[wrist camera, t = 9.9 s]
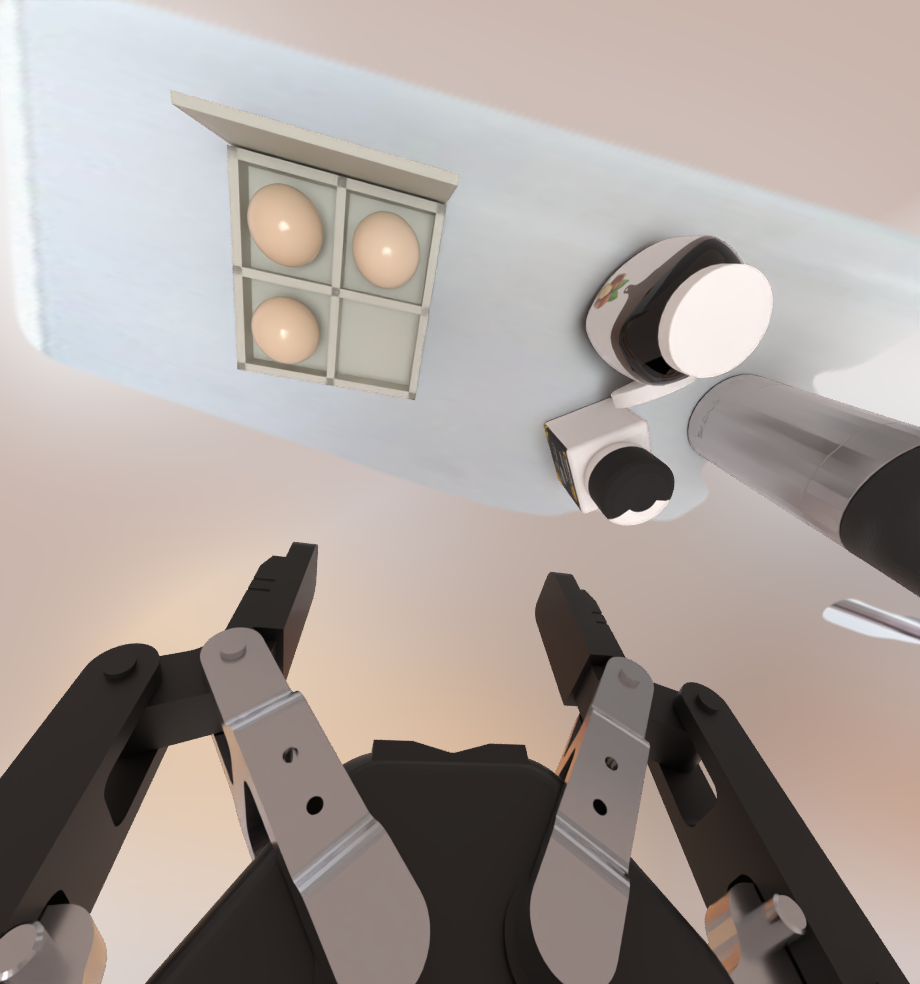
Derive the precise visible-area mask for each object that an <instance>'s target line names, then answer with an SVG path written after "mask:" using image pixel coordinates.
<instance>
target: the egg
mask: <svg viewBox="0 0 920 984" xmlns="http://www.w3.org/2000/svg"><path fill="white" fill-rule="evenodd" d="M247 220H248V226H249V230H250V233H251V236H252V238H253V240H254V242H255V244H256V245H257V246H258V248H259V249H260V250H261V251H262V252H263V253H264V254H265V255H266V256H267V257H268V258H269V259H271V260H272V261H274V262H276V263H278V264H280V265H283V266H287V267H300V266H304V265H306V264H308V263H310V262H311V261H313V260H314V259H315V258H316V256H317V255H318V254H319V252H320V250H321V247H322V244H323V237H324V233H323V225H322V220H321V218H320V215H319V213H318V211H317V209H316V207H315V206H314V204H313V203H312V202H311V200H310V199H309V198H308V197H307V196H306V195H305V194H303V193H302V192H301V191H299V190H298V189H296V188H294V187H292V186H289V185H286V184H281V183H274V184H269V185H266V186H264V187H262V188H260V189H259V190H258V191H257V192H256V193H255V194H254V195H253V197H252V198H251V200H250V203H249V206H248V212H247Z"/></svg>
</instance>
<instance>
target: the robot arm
mask: <svg viewBox="0 0 920 984" xmlns="http://www.w3.org/2000/svg"><path fill="white" fill-rule="evenodd" d="M688 438H689V441H690V444H691V446H692V448H693V449H694V451H696V452H697V453H698V454H699V455H701V456H702V457H704V458H705V459H707V460H708V461H710V462H711V463H713V464H715V465H716V466H718V467H719V468H721V469H722V470H724V471H725V472H727V473H728V474H730V475H731V476H733V477H735V478H736V479H738V480H739V481H741V482H742V483H744V484H745V485H747V486H748V487H750V488H751V489H753V490H755V491H756V492H758V493H759V494H761V495H762V496H764V497H766V498H767V499H769V500H770V501H772V502H773V503H775V504H777V505H778V506H780V507H781V508H783V509H784V510H786V511H787V512H789V513H790V514H792V515H793V516H795V517H797V518H798V519H800V520H801V521H803V522H804V523H806V524H808V525H809V526H811V527H812V528H814V529H816V530H817V531H819V532H820V533H822V534H823V535H825V536H826V537H828V538H830V539H831V540H833V541H834V542H836V543H837V544H839V545H840V546H842V547H844V548H845V549H847V550H848V551H849V552H851V553H852V554H854V555H855V556H857V557H859V558H860V559H862V560H863V561H865V562H867V563H868V564H870V565H871V566H873V567H874V568H876V569H878V570H879V571H881V572H882V573H884V574H885V575H887V576H888V577H890V578H891V579H893V580H895V581H896V582H897V583H899V584H901V585H902V586H903V587H905V588H907V589H908V590H910V591H911V592H913V593H914V594H916V595H917V596H919V597H920V427H918V426H914V425H911V424H907V423H904V422H901V421H898V420H895V419H891V418H888V417H885V416H882V415H879V414H875V413H873V412H870V411H866V410H863V409H860V408H857V407H853V406H851V405H847V404H844V403H841V402H838V401H835V400H832V399H829V398H825V397H822V396H819V395H816V394H813V393H810V392H806V391H803V390H800V389H797V388H794V387H791V386H788V385H785V384H782V383H779V382H775V381H772V380H769V379H766V378H763V377H760V376H756V375H751V374H748V375H738V376H734V377H731V378H729V379H727V380H724V381H722V382H721V383H719V384H718V385H716V386H715V387H713V388H712V389H711V390H710V391H709V392H708V393H707V394H706V395H705V396H704V397H703V398H702V399H701V401H700V402H699V403H698V405H697V406H696V408H695V410H694V411H693V414H692V417H691V419H690V423H689V428H688ZM317 557H318V545H316V544H309V543H308V544H307V543H299V542H293V543H292V545H291V547H290V549H289V552H288V554H287V556H286V557H281V556H272V557H271V558H269V559H268V560H267V561H266V562H264V563H263V564H262V565H261V566H260V567H259V569H258V571H257V573H256V575H255V576H254V579H253V580H252V582H251V584H250V586H249V588H248V590H247V591H246V593H245V595H244V596H243V598H242V600H241V602H240V604H239V606H238V607H237V609H236V611H235V613H234V615H233V617H232V618H231V620H230V622H229V624H228V626H227V628H226V629H225V630H224V631H222V632H220V633H218V634H216V635H214V636H213V637H212V638H210V639H209V640H208V641H207V642H206V643H205V645H204V646H203V647H200V648H198V649H195V650H191V651H186V652H180V653H175V654H169V655H163V656H159V654H158V652H157V651H156V649H155V648H153V647H152V646H149V645H146V644H138V643H136V644H135V643H134V644H126V645H122V646H118V647H115V648H112V649H110V650H108V651H106V652H104V653H102V654H100V655H99V656H97V657H96V658H94V659H93V660H92V661H91V662H90V663H89V664H88V665H87V666H86V667H85V668H84V669H83V671H82V672H81V673H80V675H79V676H78V677H77V679H76V680H75V681H74V683H73V684H72V685H71V687H70V688H69V689H68V691H67V692H66V693H65V694H64V696H63V697H62V698H61V700H60V701H59V702H58V704H57V705H56V706H55V708H54V709H53V710H52V712H51V713H50V714H49V715H48V717H47V718H46V720H45V721H44V722H43V723H42V725H41V726H40V727H39V728H38V730H37V731H36V733H35V734H34V735H33V736H32V738H31V739H30V740H29V742H28V743H27V744H26V745H25V747H24V748H23V749H22V751H21V752H20V753H19V755H18V756H17V757H16V759H15V760H14V761H13V762H12V764H11V765H10V767H9V768H8V769H7V770H6V772H5V773H4V774H3V776H2V777H1V778H0V984H101V982H102V978H103V975H104V971H105V967H106V961H107V950H106V945H105V942H104V940H103V938H102V936H101V934H100V932H99V931H98V929H97V927H96V925H95V923H94V921H93V919H92V917H91V916H90V913H91V911H92V908H93V906H94V904H95V902H96V900H97V898H98V896H99V894H100V891H101V889H102V887H103V885H104V883H105V881H106V879H107V876H108V874H109V872H110V870H111V868H112V866H113V864H114V861H115V859H116V857H117V855H118V853H119V851H120V849H121V846H122V844H123V842H124V840H125V838H126V835H127V833H128V831H129V829H130V827H131V825H132V823H133V821H134V818H135V816H136V814H137V812H138V810H139V808H140V806H141V803H142V801H143V799H144V797H145V795H146V792H147V790H148V788H149V786H150V784H151V782H152V779H153V778H154V775H155V773H156V771H157V769H158V767H159V765H160V763H161V760H162V758H163V756H164V754H165V752H166V750H167V748H168V746H170V745H174V744H178V743H181V742H185V741H189V740H192V739H196V738H200V737H204V736H208V735H211V736H212V739H213V742H214V744H215V747H216V750H217V753H218V756H219V759H220V762H221V764H222V767H223V770H224V773H225V775H226V778H227V781H228V784H229V787H230V790H231V792H232V795H233V799H234V803H235V807H236V812H237V816H238V820H239V823H240V826H241V829H242V833H243V836H244V838H245V841H246V844H247V847H248V850H249V853H250V856H251V858H252V862H251V864H250V865H249V866H248V867H247V868H246V869H245V870H244V871H243V872H242V874H241V875H240V876H239V877H238V878H237V879H236V880H235V882H234V883H233V884H232V885H231V886H230V887H229V888H228V890H227V891H226V892H225V893H224V894H223V895H222V896H221V898H220V899H219V900H218V901H217V902H216V903H215V904H214V906H213V907H212V908H211V909H210V910H209V911H208V912H207V913H206V915H205V916H204V917H203V918H202V919H201V920H200V921H199V923H198V924H197V925H196V926H195V927H194V928H193V929H192V931H191V932H190V933H189V934H188V935H187V936H186V937H185V938H184V940H183V941H182V942H181V943H180V944H179V945H178V946H177V948H176V949H175V950H174V951H173V952H172V953H171V954H170V955H169V957H168V958H167V959H166V960H165V961H164V963H163V964H162V965H161V966H160V967H159V968H158V969H157V970H156V971H155V973H154V974H153V975H152V976H151V977H150V978H149V980H148V981H147V982H146V983H145V984H910V983H909V982H908V980H907V979H906V977H905V976H904V974H903V973H902V971H901V969H900V968H899V966H898V965H897V963H896V962H895V960H894V959H893V957H892V956H891V954H890V953H889V951H888V950H887V948H886V946H885V945H884V944H883V942H882V940H881V939H880V938H879V936H878V934H877V933H876V931H875V930H874V928H873V927H872V925H871V924H870V922H869V921H868V919H867V917H866V916H865V915H864V913H863V911H862V910H861V908H860V907H859V905H858V904H857V902H856V901H855V899H854V898H853V896H852V895H851V893H850V892H849V890H848V888H847V887H846V886H845V884H844V883H843V881H842V879H841V878H840V876H839V875H838V873H837V872H836V870H835V869H834V867H833V866H832V864H831V862H830V861H829V859H828V858H827V856H826V855H825V853H824V852H823V850H822V849H821V848H820V846H819V844H818V843H817V841H816V840H815V838H814V837H813V835H812V834H811V832H810V830H809V829H808V827H807V826H806V824H805V823H804V821H803V820H802V818H801V817H800V815H799V814H798V812H797V811H796V809H795V807H794V806H793V805H792V803H791V801H790V800H789V798H788V797H787V795H786V794H785V792H784V791H783V789H782V788H781V786H780V785H779V783H778V782H777V780H776V779H775V777H774V776H773V774H772V772H771V771H770V769H769V768H768V766H767V765H766V763H765V762H764V760H763V759H762V757H761V756H760V754H759V752H758V751H757V749H756V748H755V746H754V745H753V744H752V742H751V740H750V739H749V737H748V736H747V734H746V733H745V731H744V730H743V728H742V727H741V725H740V724H739V722H738V720H737V719H736V718H735V716H734V714H733V713H732V711H731V710H730V708H729V707H728V706H727V704H726V703H725V701H724V700H723V699H722V698H721V697H719V695H717V694H716V693H715V692H714V691H712V690H711V689H709V688H707V687H705V686H704V685H701V684H698V683H694V682H689V683H686V684H684V685H683V686H682V688H681V689H680V691H679V692H678V691H675V690H673V689H670V688H667V687H664V686H661V685H658V684H656V683H653V681H652V679H651V677H650V676H649V674H648V673H647V672H646V671H645V670H644V669H643V668H642V667H641V666H640V665H638V664H637V663H636V662H634V661H632V660H630V659H627V658H626V657H625V656H624V654H623V652H622V650H621V648H620V646H619V644H618V642H617V641H616V639H615V637H614V635H613V633H612V631H611V630H610V627H609V625H607V624H606V623H607V622H606V620H605V618H604V616H603V615H602V614H601V613H602V612H601V610H600V609H599V607H598V605H597V603H596V601H595V600H594V599H593V598H592V597H591V596H590V595H589V594H588V593H587V592H586V591H585V590H580V588H579V586H578V584H577V582H576V580H575V578H574V577H573V575H571V574H565V573H556V572H550V573H549V574H548V576H547V579H546V581H545V583H544V586H543V589H542V591H541V594H540V596H539V599H538V601H537V604H536V609H535V617H536V622H537V625H538V628H539V632H540V634H541V638H542V641H543V644H544V647H545V650H546V652H547V655H548V659H549V662H550V665H551V667H552V671H553V674H554V677H555V680H556V683H557V686H558V689H559V692H560V695H561V698H562V701H563V704H564V705H567V706H578V709H579V712H580V713H579V715H578V717H577V719H576V721H575V723H574V726H573V729H572V731H571V734H570V736H569V739H568V741H567V744H566V747H565V750H564V752H563V755H562V757H561V759H560V762H559V765H558V767H557V769H556V771H555V773H554V772H552V771H551V770H550V769H548V768H547V767H545V766H543V765H542V764H540V763H538V762H536V761H533V760H531V759H528V756H527V751H526V748H525V745H513V744H511V745H510V744H487V745H483V746H480V747H475V748H472V749H468V750H464V751H460V752H456V753H450V752H446V751H443V750H440V749H437V748H434V747H430V746H427V745H424V744H421V743H417V742H414V741H395V740H374V742H373V747H372V753H369V754H365V755H362V756H359V757H357V758H355V759H352V760H350V761H348V762H347V763H345V764H343V765H342V763H341V761H340V760H339V758H338V756H337V754H336V752H335V751H334V749H333V747H332V745H331V744H330V742H329V740H328V738H327V736H326V735H325V733H324V731H323V729H322V727H321V726H320V724H319V722H318V721H317V718H316V717H315V715H314V713H313V711H312V710H311V708H310V706H309V705H308V702H307V701H306V699H305V697H304V696H303V695H302V693H301V692H299V691H295V692H293V691H292V690H291V689H290V687H289V686H288V684H287V682H286V679H287V676H288V673H289V670H290V667H291V664H292V660H293V658H294V655H295V652H296V648H297V646H298V643H299V639H300V637H301V633H302V630H303V627H304V624H305V621H306V618H307V615H308V612H309V609H310V606H311V603H312V600H313V596H314V592H315V586H316V574H317ZM701 760H702V762H703V764H704V765H705V768H706V769H707V771H708V773H709V775H710V777H711V779H712V781H713V783H714V785H715V788H716V792H717V799H716V797H715V795H714V793H713V791H712V789H711V787H710V785H709V783H708V781H707V779H706V777H705V775H704V774H703V771H702V770H701V768H700V766H699V764H698V763H699V762H700V761H701ZM647 764H648V766H649V768H650V771H651V773H652V776H653V778H654V781H655V783H656V785H657V788H658V790H659V792H660V795H661V797H662V800H663V803H664V805H665V807H666V810H667V812H668V815H669V817H670V820H671V822H672V824H673V826H674V829H675V832H676V834H677V837H678V839H679V842H680V843H681V846H682V849H683V851H684V854H685V856H686V858H687V861H688V863H689V866H690V868H691V871H692V873H693V876H694V878H695V880H696V883H697V885H698V888H699V890H700V893H701V895H702V898H703V900H704V902H705V905H706V907H707V911H706V915H705V929H706V935H707V938H708V941H709V943H708V944H707V943H706V942H705V941H704V940H703V939H702V938H701V936H699V934H698V933H697V932H696V931H695V930H694V929H693V927H692V926H691V925H690V924H689V923H688V922H687V920H686V919H685V918H684V917H683V916H682V915H681V914H680V913H679V911H678V910H677V909H676V908H675V907H674V906H673V905H672V903H671V902H670V901H669V900H668V899H667V898H666V897H665V895H664V894H663V893H662V892H661V891H660V890H659V889H658V887H657V886H656V885H655V884H654V883H653V882H652V881H651V880H650V878H649V877H648V876H647V875H646V874H645V873H644V872H643V870H642V869H641V868H640V867H639V866H638V865H637V864H636V862H635V861H634V860H633V859H632V858H631V857H630V856H631V850H632V845H633V840H634V834H635V828H636V823H637V817H638V812H639V806H640V800H641V795H642V789H643V784H644V778H645V772H646V766H647Z"/></svg>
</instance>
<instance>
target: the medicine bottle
mask: <svg viewBox="0 0 920 984" xmlns="http://www.w3.org/2000/svg"><path fill="white" fill-rule="evenodd" d="M544 428H545V432H546V435H547V439H548V443H549V446H550V450H551V453H552V457H553V461H554V464H555V468H556V471H557V475H558V479H559V481H560V482H561V483H562V485H563V486H564V488H565V489H566V490H567V492H568V493H569V495H570V496H571V497H572V499H573V500H574V502H575V503H576V504H577V506H578V507H579V509H580V510H581V511H582V512H583V513H588V512H591V511H594V510H596V509H600V510H601V511H602V513H603V514H604V515H605V516H606V517H607V519H609V520H610V521H611V522H613V523H616V524H619V525H636V524H640V523H643V522H646V521H648V520H650V519H652V518H654V517H655V516H656V515H658V514H659V513H660V512H661V511H662V510H663V509H664V508H665V507H666V505H667V504H668V502H669V501H670V499H671V496H672V493H673V490H674V476H673V473H672V471H671V470H670V468H669V467H668V466H667V465H666V464H664V463H663V462H662V461H660V460H659V459H658V458H657V457H655V456H654V455H653V454H651V446H650V438H649V431H648V423H647V421H646V420H644V419H643V418H641V417H640V416H638V415H637V414H635V413H634V412H632V411H630V410H629V409H627V408H621V409H617V408H615V405H614V403H613V400H612V398H607V399H605V400H602V401H600V402H597V403H595V404H592V405H589V406H587V407H584V408H582V409H579V410H577V411H574V412H572V413H569V414H566V415H564V416H561V417H559V418H556V419H554V420H551V421H549V422H546V423H545V424H544Z"/></svg>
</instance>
